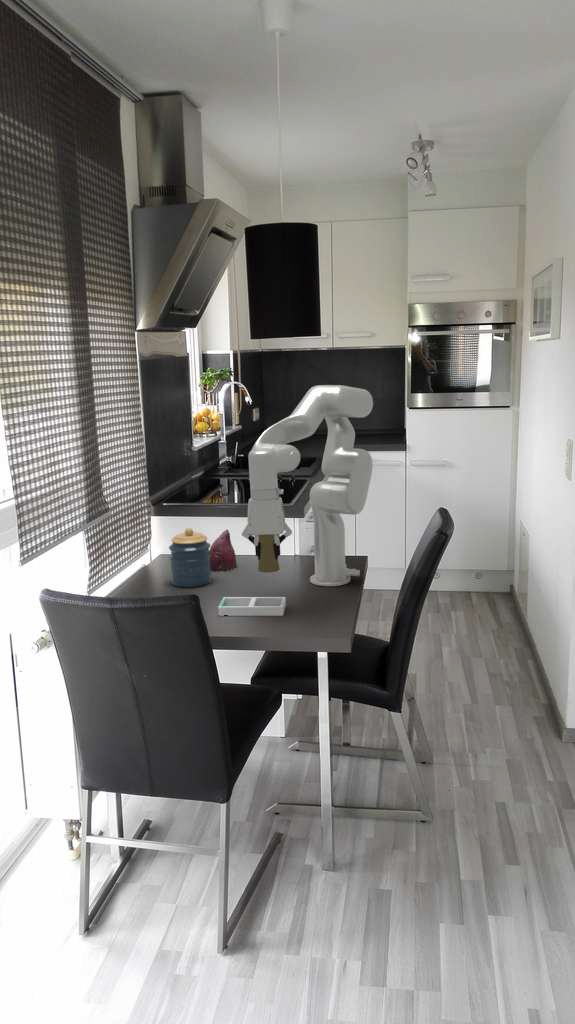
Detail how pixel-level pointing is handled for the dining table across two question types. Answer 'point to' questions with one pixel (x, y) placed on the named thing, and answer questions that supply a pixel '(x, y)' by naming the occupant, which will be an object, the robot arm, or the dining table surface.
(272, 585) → the dining table surface
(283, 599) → the white divided tray
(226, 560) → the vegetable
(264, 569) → the cork
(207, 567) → the canister
